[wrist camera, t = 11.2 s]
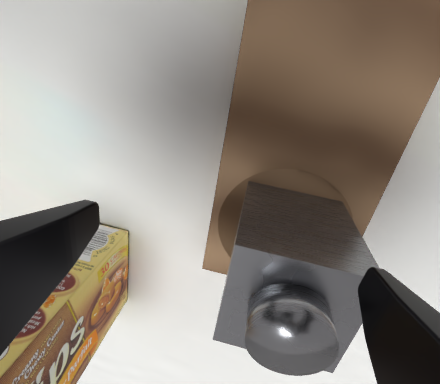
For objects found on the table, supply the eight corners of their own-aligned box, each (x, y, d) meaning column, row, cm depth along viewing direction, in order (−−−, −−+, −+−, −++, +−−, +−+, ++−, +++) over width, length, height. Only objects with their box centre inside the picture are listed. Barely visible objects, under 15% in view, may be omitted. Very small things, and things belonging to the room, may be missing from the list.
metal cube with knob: (231, 253, 20) (206, 369, 12) (248, 180, 17) (229, 269, 9) (312, 273, 19) (339, 408, 11) (342, 201, 16) (404, 314, 9)
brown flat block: (325, 281, 22) (340, 337, 17) (207, 252, 22) (191, 297, 18) (487, -75, 12) (617, -163, 7) (270, -101, 13) (269, -193, 8)
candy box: (86, 218, 23) (-179, 429, 10) (132, 229, 23) (-77, 465, 9) (92, 290, 27) (-92, 515, 13) (131, 301, 27) (-18, 543, 13)
